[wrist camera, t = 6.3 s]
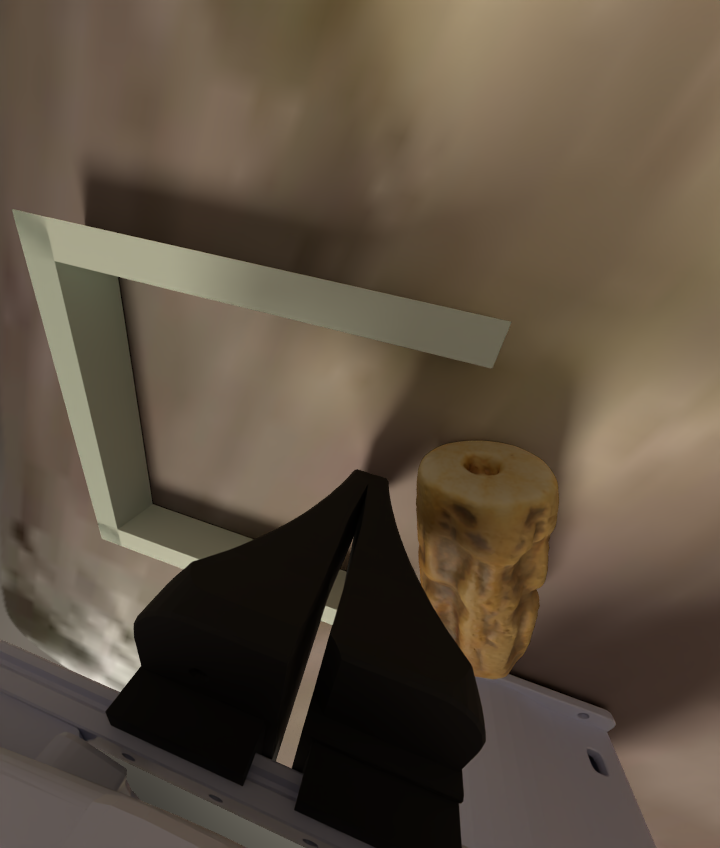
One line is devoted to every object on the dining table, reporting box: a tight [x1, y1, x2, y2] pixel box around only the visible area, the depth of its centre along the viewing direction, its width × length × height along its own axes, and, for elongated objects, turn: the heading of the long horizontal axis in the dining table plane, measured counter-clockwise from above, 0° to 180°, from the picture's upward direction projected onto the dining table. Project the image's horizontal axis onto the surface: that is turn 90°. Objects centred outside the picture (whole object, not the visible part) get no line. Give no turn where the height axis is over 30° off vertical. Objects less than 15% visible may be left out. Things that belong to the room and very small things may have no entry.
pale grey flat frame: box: [12, 209, 511, 625], centre depth 12 cm, size 15×14×2 cm
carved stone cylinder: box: [416, 441, 559, 679], centre depth 10 cm, size 8×4×4 cm, turn 6°
